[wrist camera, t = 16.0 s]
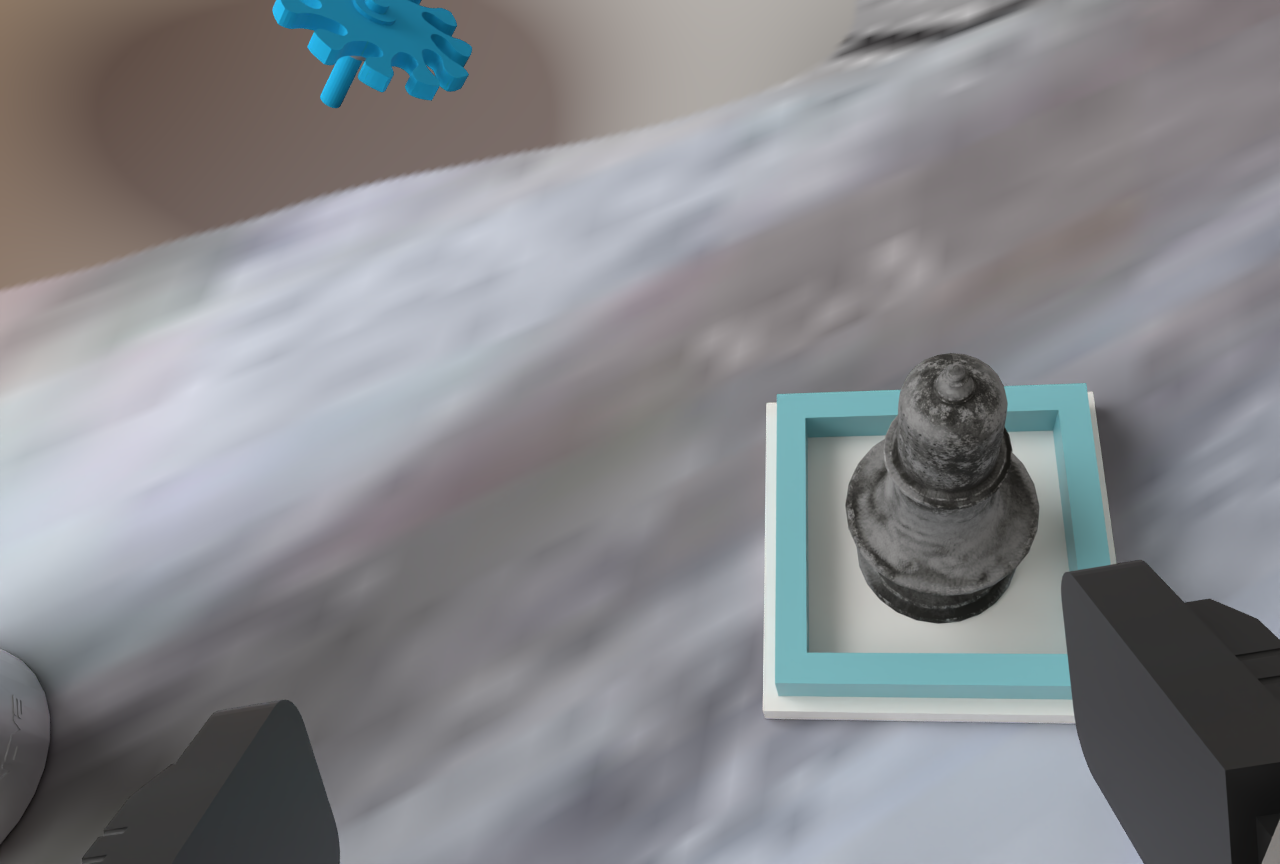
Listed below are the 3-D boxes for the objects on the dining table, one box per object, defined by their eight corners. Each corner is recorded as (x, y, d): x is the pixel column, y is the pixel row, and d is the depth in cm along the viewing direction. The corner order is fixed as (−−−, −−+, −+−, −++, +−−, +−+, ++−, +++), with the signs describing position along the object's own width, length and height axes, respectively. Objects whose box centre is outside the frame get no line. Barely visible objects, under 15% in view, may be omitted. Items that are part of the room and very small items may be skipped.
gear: (490, 105, 52) (269, 15, 47) (433, 200, 56) (222, 127, 50) (465, -26, 59) (269, -117, 54) (416, 67, 63) (228, -10, 57)
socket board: (765, 719, 39) (758, 698, 37) (768, 415, 44) (762, 382, 42) (1131, 724, 37) (1147, 703, 35) (1088, 405, 42) (1099, 370, 40)
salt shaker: (847, 629, 39) (835, 473, 28) (848, 470, 41) (838, 273, 31) (1032, 635, 38) (1091, 473, 27) (1021, 470, 40) (1071, 266, 30)
